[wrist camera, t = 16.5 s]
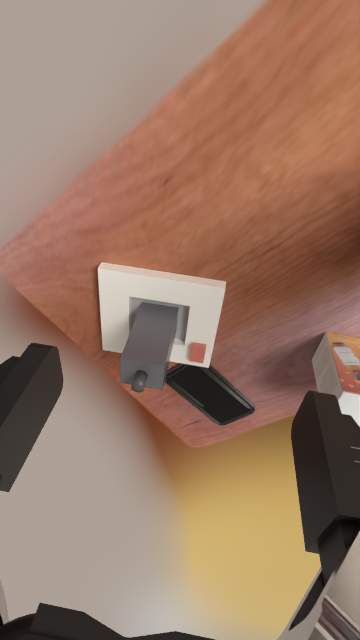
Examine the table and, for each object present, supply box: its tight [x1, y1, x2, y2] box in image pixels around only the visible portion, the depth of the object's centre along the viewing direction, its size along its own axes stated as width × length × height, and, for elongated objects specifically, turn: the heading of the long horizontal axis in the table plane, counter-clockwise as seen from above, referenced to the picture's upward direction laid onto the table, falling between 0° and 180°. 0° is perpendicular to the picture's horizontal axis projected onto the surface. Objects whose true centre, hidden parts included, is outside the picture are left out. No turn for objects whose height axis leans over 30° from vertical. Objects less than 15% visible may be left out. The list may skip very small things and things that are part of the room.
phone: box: [165, 363, 255, 425], centre depth 56 cm, size 8×1×15 cm
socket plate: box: [98, 262, 226, 368], centre depth 47 cm, size 16×14×2 cm
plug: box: [120, 302, 179, 392], centre depth 43 cm, size 5×4×13 cm
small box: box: [312, 332, 360, 427], centre depth 43 cm, size 8×6×10 cm
